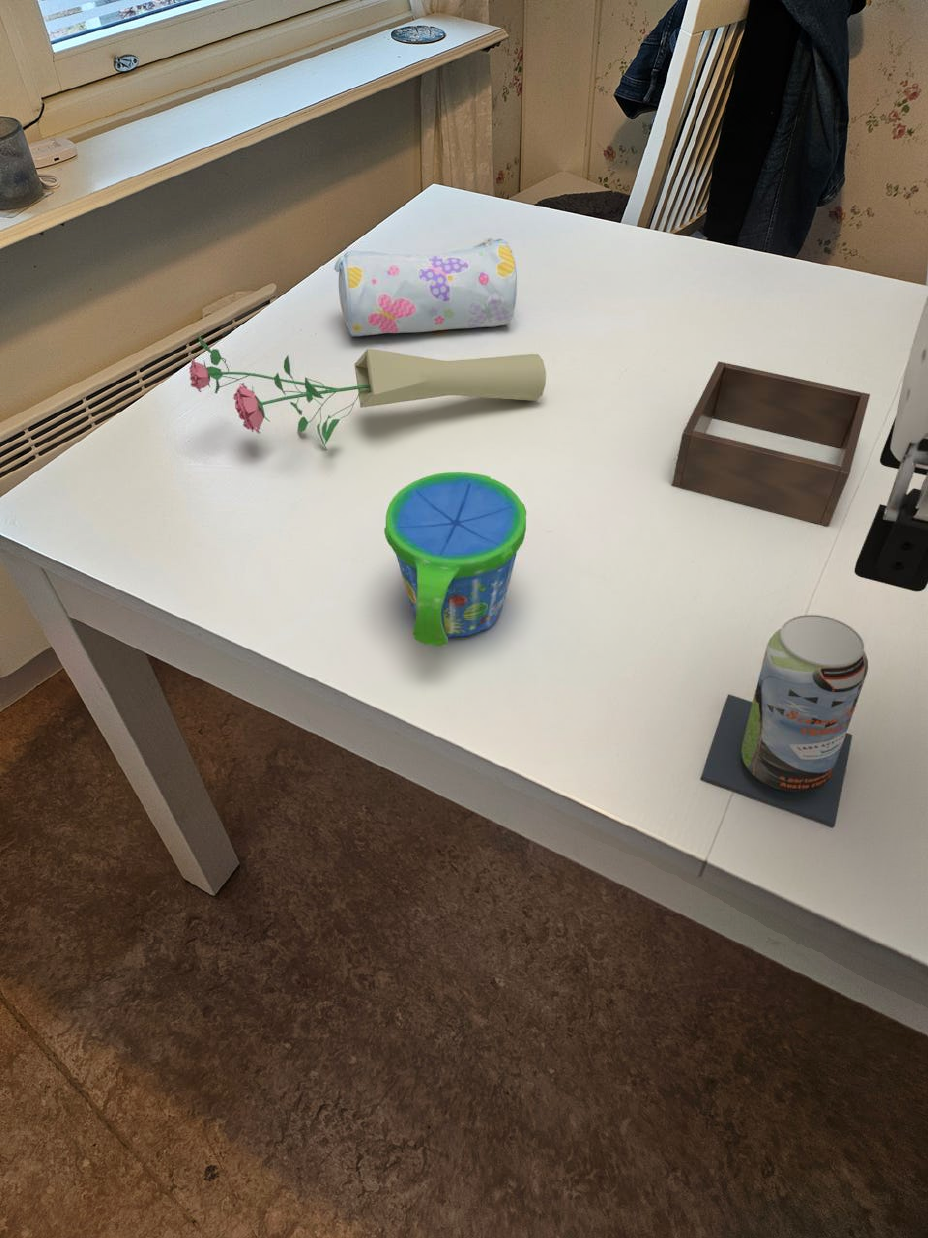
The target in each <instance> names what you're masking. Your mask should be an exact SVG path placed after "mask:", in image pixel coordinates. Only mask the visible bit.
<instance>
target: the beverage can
mask: <svg viewBox="0 0 928 1238" xmlns="http://www.w3.org/2000/svg"><path fill="white" fill-rule="evenodd" d="M763 655H764V656H763V660H762V662H761V668H760V671H759V675H758V680H757V683H756V688H755V692H754V696H753V698H752V699H753V700H752V702H753V703H752V707H751V711H750V715H749V719H748V723H747V727H746V731H745V735H744V739H743V743H742V749H741V753H742V758H743V761H744V763H745V765H746V767H747V768H748V769H749V771H750V772H751V773H752V774H753V775H754V776H755V777H757V778H758V779H759V780H761V781H762V782H764V783H765V784H767V785H769V786H772V787H774V788H777V789H780V790H784V791H789V792H807V791H812V790H815V789H818V788H820V787H821V786H823V785H824V784H825V783H826V782H827V781H828V780H829V779H830V777H831V775H832V772H833V769H834V766H835V763H836V761H837V758H838V755H839V752H840V749H841V746H842V743H843V741H844V738H845V735H846V733H847V731H848V729H849V726H850V723H851V721H852V717H853V714H854V712H855V708H856V706H857V703H858V700H859V698H860V695H861V692H862V689H863V686H864V684H865V681H866V677H867V675H868V671H869V660H868V657H867V653H866V652H865V643H864V640H863V638H862V636H861V635H860V634H859V633H858V631H856V630H855V629H854V628H853V627H851V626H850V625H848V624H847V623H845V622H843V621H841V620H838V619H836V618H834V617H830V616H827V615H825V616H824V615H820V614H819V615H818V614H802V615H797V616H794V617H792V618H789V619H788V620H786V621H785V622H784V623H783V624H782V626H781V628H780V629H778V630H777V631H776V632H774V634H772V636H771V637H770V638H769V640H768V641H767V644H766V647H765V651H764V654H763Z"/></svg>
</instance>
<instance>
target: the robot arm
mask: <svg viewBox="0 0 928 1238" xmlns="http://www.w3.org/2000/svg"><path fill="white" fill-rule="evenodd" d="M899 393H900V394H899V398H898V404H897V409H896V415H895V417H894V420H893V422H892V425H891V428H890V430H889V433H888V435H887V438H886V440H885V443H884V446H883V448H882V451H881V454H880V456H879V457H880V458H879V463H880V464H881V465H882V466H883V467H886V468H891V469H895V470H898V471H897V472H896V473H897V474H896V476H895V479H894V483H893V486H892V489H891V491H890V494H889V497H888V500H887V504H881V503H880V504H879V505H878V507H877V509H876V512H875V515H874V517H873V519H872V521H871V522H872V523H871V525H870V527H869V529H868V532H867V535H866V537H865V539H864V542H863V545H862V546H861V547H862V548H861V550H860V552H859V554H858V556H857V557H858V558H857V559H856V562H855V566H854V574H855V575H856V577H859V578H862V579H865V580H869V581H874V582H877V583H882V584H885V585H889V586H892V587H896V588H901V589H903V590H904V589H905V590H907V591H911V592H922V591H924V590H925V589H926V588H927V586H928V295H927V297H926V299H925V303H924V305H923V309H922V313H920V317H919V321H918V324H917V327H916V330H915V334H914V337H913V340H912V344H911V347H910V350H909V355H908V359H907V363H906V367H905V370H904V374H903V380H902V384H901V387H900V392H899ZM914 474H917V475H922V476H925V478H924V480H923V481H922V483H921V487H920V489H919V488H912V489H911V490H910V491H909V492H908V490H909V487H910V484H911V481H912V478H913V475H914Z"/></svg>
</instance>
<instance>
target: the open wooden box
mask: <svg viewBox="0 0 928 1238" xmlns="http://www.w3.org/2000/svg"><path fill="white" fill-rule="evenodd" d="M870 397H871V394H870V393H867V392H863V391H857V390H854V389H847V388H844V387H839V386H834V385H829V384H825V383H820V382H815V381H812V380H807V379H803V378H797V377H793V376H788V375H784V374H780V373H779V374H778V373H774V372H771V371H765V370H761V369H756V368H751V367H746V366H742V365H737V364H732V363H728V362H723V361H717V363H716V365H715V367H714V370H713V372H712V373H711V375H710V378H709V379H708V381H707V384H706V385H705V387H704V389H703V392H702V394H701V395H700V397H699V399H698V400H697V404H696V405H695V407H694V409H693V412H692V414H691V416H690V417H689V418H688V422H686V425H685V428H684V429H683V431H682V434H681V438H680V442H679V448H678V452H677V458H676V462H675V467H674V472H673V478H672V480H671V486H672V487H676V488H680V489H683V490H687V491H691V492H695V493H699V494H702V495H706V496H711V497H714V498H718V499H720V500H725V501H729V502H733V503H737V504H739V505H740V504H741V505H745V506H748V507H751V508H755V509H759V510H762V511H763V510H764V511H767V512H771V513H775V514H779V515H783V516H785V517H790V518H794V519H798V520H801V521H806V522H809V523H812V524H813V523H814V524H817V525H820V526H824V527H829V526H830V525H831V523H832V519H833V517H834V514H835V512H836V509H837V507H838V504H839V502H840V499H841V496H842V494H843V492H844V489H845V486H846V484H847V480H848V478H849V476H850V472H851V469H852V465H853V462H854V458H855V453H856V450H857V447H858V444H859V443H858V442H859V440H860V435H861V431H862V428H863V423H864V421H865V416H866V411H867V408H868V405H869V400H870ZM713 419H717V420H721V421H725V422H729V423H732V424H733V423H734V424H738V425H742V426H746V427H751V428H755V429H759V430H762V431H767V432H771V433H775V434H780V435H785V436H789V437H793V438H797V439H801V440H805V441H810V442H815V443H819V444H823V445H827V446H832V447H834V448H839V449H840V450H839V455H838V458H837V462H836V464H833V463H829V462H825V461H820V460H817V459H812V458H808V457H804V456H800V455H796V454H792V453H788V452H783V451H780V450H779V451H778V450H775V449H771V448H766V447H763V446H758V445H755V444H750V443H746V442H742V441H739V440H738V441H737V440H734V439H729V438H726V437H721V436H717V435H713V434H709V433H707V430H708V428H709V426H710V424H711V422H712V420H713Z"/></svg>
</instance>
